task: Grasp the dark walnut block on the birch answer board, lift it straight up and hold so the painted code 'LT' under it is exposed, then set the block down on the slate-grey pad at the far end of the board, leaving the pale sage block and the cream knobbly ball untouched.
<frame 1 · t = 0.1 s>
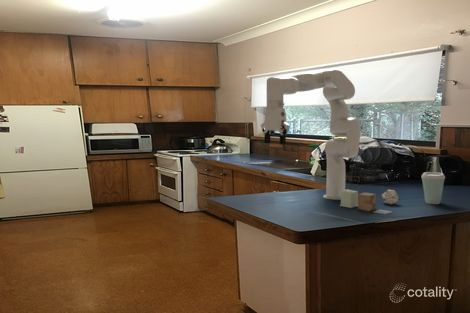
hand: (274, 143, 179), 31 cm above the countertop, fingers open, 9 cm apart
sage block: (349, 205, 189), point 1 cm above the countertop, touching answer board
walnut block: (366, 209, 182), point 1 cm above the countertop, touching answer board
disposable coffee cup: (431, 203, 197), on the countertop
answer board: (364, 210, 182), on the countertop
cream knobbly ball: (389, 205, 193), on the countertop
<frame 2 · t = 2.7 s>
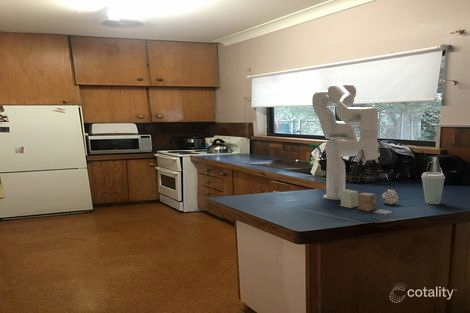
hand: (368, 172, 180), 18 cm above the countertop, fingers open, 9 cm apart
nothing on the countertop moved.
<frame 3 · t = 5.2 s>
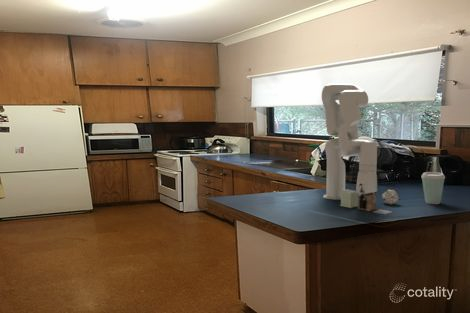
hand: (366, 207, 182), 2 cm above the countertop, fingers closed on walnut block, 5 cm apart
walnut block: (366, 209, 182), point 1 cm above the countertop, touching answer board, gripper
everything else where it was.
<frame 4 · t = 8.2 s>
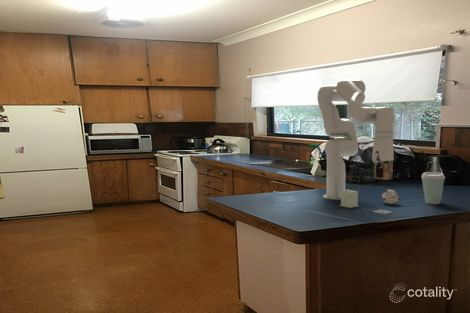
hand: (383, 176, 174), 17 cm above the countertop, fingers closed on walnut block, 5 cm apart
walnut block: (383, 178, 174), point 16 cm above the countertop, touching gripper
everything else where it was.
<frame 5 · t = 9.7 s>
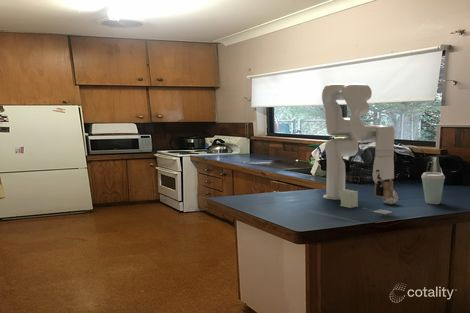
hand: (383, 194, 174), 9 cm above the countertop, fingers closed on walnut block, 5 cm apart
walnut block: (383, 196, 174), point 8 cm above the countertop, touching gripper
everything else where it was.
when the fingers open (3 cm above the countertop, at t = 11.2 s): walnut block drops 1 cm, resting on answer board.
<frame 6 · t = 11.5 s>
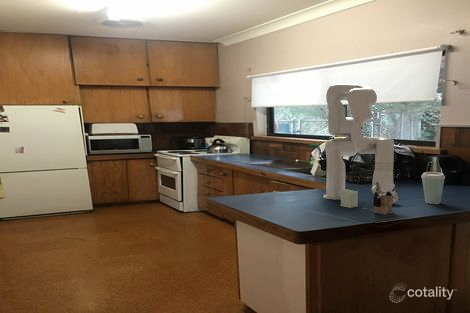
hand: (382, 205, 175), 4 cm above the countertop, fingers open, 9 cm apart
walnut block: (382, 211, 175), point 1 cm above the countertop, touching answer board
everything else where it was.
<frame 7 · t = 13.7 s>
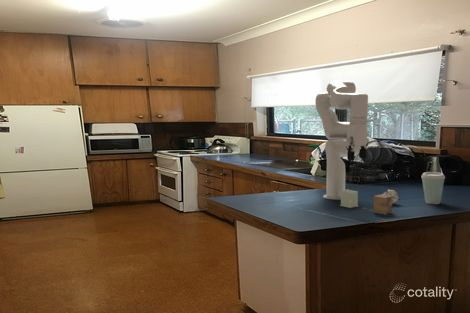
hand: (356, 158, 180), 24 cm above the countertop, fingers open, 9 cm apart
nothing on the countertop moved.
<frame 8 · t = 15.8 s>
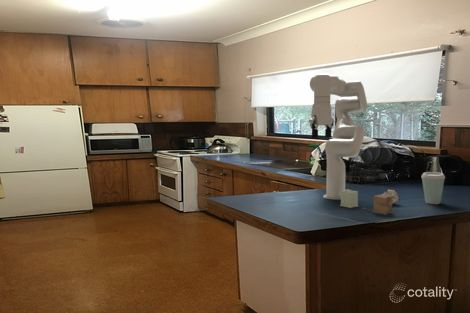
hand: (321, 137, 187), 33 cm above the countertop, fingers open, 9 cm apart
nothing on the countertop moved.
at the end: walnut block inside the target area (0.0 cm from its centre), point 1.0 cm above the countertop; walnut block tilted 0°; sage block moved 0.0 cm from its start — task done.
